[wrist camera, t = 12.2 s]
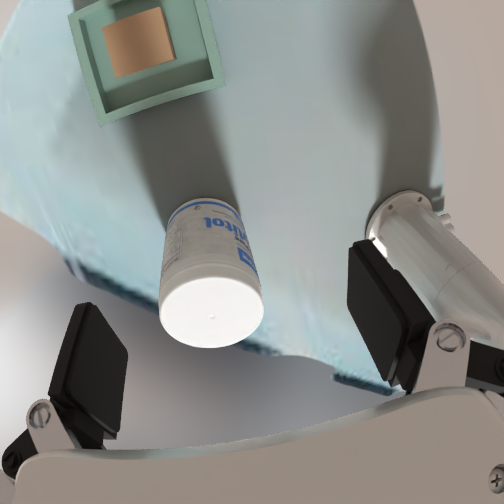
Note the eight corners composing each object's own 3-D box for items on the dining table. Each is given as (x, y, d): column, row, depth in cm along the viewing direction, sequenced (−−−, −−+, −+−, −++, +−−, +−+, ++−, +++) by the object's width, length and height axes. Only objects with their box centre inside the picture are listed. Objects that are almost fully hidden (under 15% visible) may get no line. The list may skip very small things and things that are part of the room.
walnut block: (165, 16, 22) (159, 6, 17) (176, 59, 25) (173, 58, 20) (117, 33, 22) (101, 27, 17) (129, 75, 25) (115, 78, 20)
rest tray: (197, -24, 20) (197, -31, 18) (223, 83, 28) (226, 85, 26) (76, 18, 20) (67, 15, 18) (106, 121, 28) (100, 126, 26)
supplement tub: (255, 210, 38) (288, 291, 26) (224, 268, 42) (241, 356, 30) (180, 183, 34) (176, 261, 22) (155, 248, 38) (147, 339, 26)
